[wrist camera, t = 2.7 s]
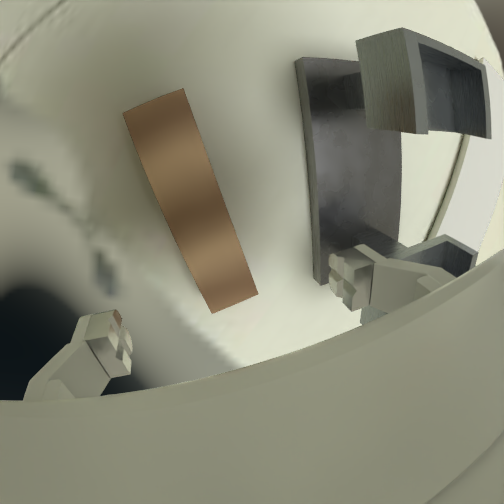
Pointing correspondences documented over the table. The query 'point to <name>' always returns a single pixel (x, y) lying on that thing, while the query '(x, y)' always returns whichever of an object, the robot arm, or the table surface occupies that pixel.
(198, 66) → the table surface
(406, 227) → the table surface
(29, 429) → the robot arm
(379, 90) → the bracket stand
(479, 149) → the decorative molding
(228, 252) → the rail
